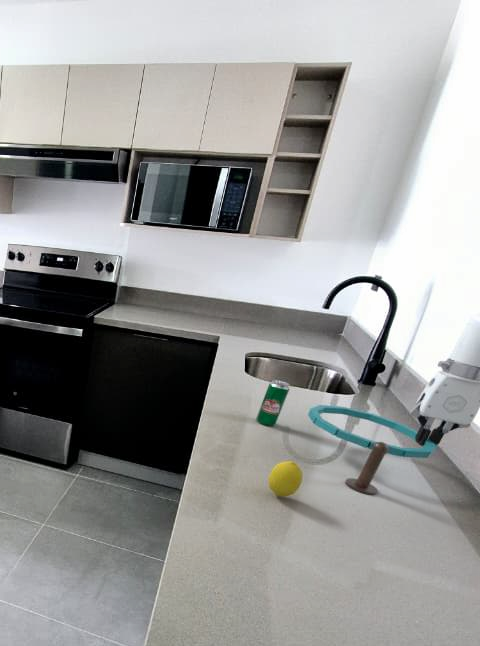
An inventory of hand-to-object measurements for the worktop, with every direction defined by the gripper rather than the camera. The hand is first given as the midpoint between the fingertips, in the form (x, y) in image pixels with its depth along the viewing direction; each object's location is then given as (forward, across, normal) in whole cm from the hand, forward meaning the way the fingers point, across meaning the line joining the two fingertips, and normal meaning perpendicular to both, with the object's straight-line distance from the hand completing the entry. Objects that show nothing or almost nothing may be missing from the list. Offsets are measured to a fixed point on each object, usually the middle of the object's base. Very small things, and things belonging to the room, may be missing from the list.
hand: (424, 444), depth 119 cm
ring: (0, -12, 0) cm, 12 cm away
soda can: (+8, -32, +11) cm, 34 cm away
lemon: (+8, -35, -35) cm, 50 cm away
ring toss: (+7, -16, -19) cm, 26 cm away
